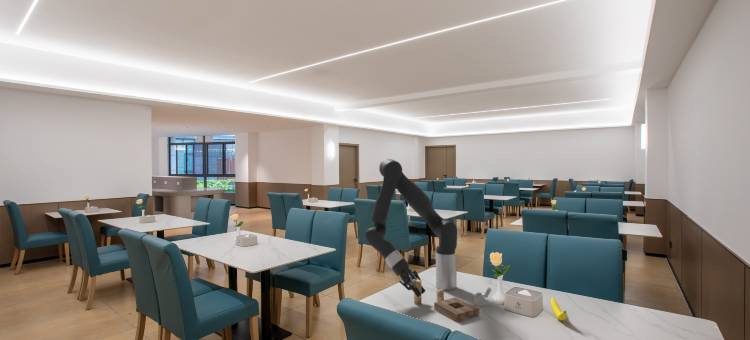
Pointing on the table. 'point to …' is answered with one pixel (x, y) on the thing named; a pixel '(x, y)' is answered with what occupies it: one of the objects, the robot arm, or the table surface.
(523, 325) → the table surface
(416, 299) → the long pin
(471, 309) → the hole plate
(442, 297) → the short pin
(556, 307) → the banana
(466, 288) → the table surface
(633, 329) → the table surface
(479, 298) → the lighter
